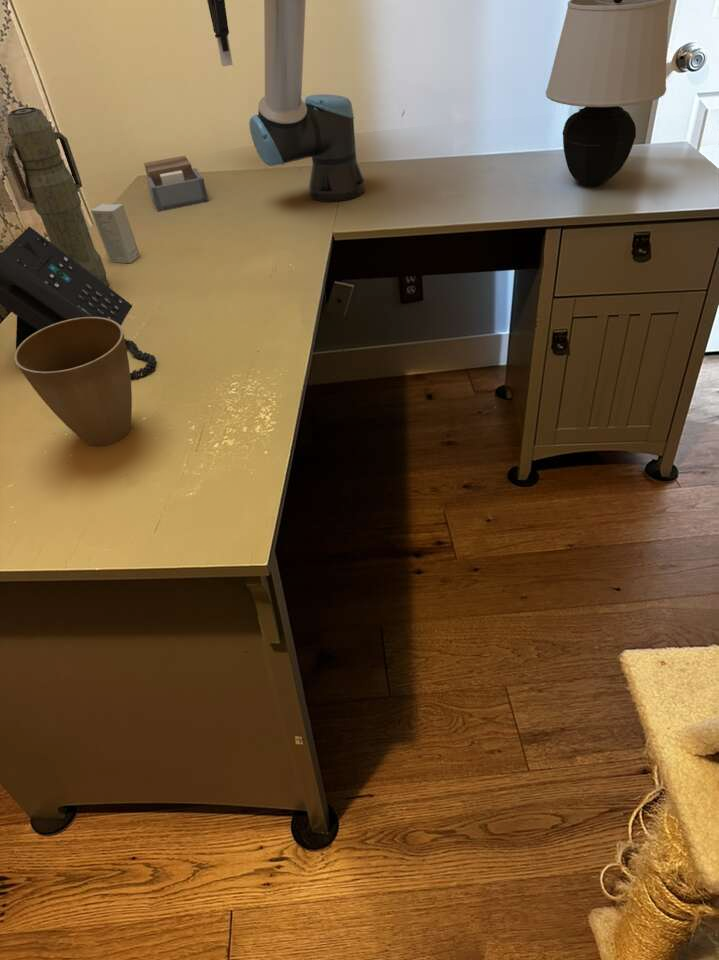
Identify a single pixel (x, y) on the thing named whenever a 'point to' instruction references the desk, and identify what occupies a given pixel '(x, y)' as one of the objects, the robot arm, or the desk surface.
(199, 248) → the desk surface
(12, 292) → the office phone
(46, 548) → the desk surface
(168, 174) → the cream tile
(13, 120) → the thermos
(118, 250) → the skincare box
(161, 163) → the brown block
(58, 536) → the desk surface
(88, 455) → the desk surface
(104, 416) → the plant pot
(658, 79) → the table lamp
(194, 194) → the box
